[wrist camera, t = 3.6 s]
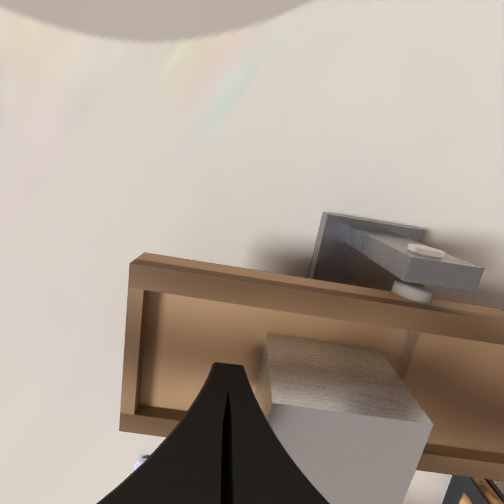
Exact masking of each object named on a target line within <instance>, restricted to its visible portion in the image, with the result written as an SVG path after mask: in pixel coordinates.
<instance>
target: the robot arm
mask: <svg viewBox="0 0 504 504" xmlns="http://www.w3.org/2000/svg"><path fill="white" fill-rule="evenodd" d="M97 504H330V503H329V502H328V501H327V500H326V499H325V498H324V497H323V496H322V495H321V494H320V492H319V491H318V490H317V489H316V488H315V487H314V486H313V485H312V483H311V482H310V481H309V480H308V479H307V477H306V476H305V475H304V474H303V472H302V471H301V470H300V469H299V468H298V466H297V465H296V464H295V463H294V461H293V460H292V458H291V457H290V456H289V454H288V453H287V451H286V450H285V449H284V447H283V446H282V444H281V443H280V441H279V440H278V438H277V436H276V435H275V433H274V432H273V430H272V428H271V426H270V425H269V423H268V421H267V419H266V417H265V416H264V414H263V412H262V410H261V408H260V406H259V404H258V402H257V399H256V397H255V395H254V393H253V391H252V388H251V386H250V383H249V380H248V378H247V375H246V372H245V368H244V367H243V365H237V364H228V363H220V362H215V363H213V364H212V366H211V370H210V372H209V375H208V377H207V379H206V381H205V383H204V385H203V387H202V388H201V390H200V392H199V394H198V395H197V397H196V399H195V400H194V402H193V403H192V405H191V406H190V408H189V409H188V411H187V412H186V413H185V415H184V416H183V418H182V419H181V420H180V422H179V423H178V424H177V426H176V427H175V428H174V429H173V431H172V432H171V433H170V434H169V435H168V437H167V438H166V439H165V440H164V441H163V442H162V443H161V444H160V446H159V447H158V448H157V449H156V450H155V451H154V452H153V453H152V454H151V455H150V456H149V457H148V458H139V459H137V460H136V462H135V465H134V472H133V473H132V474H131V475H130V476H128V477H127V478H126V479H125V480H124V481H123V482H122V483H121V484H120V485H119V486H117V487H116V488H115V489H114V490H113V491H111V492H110V493H109V494H108V495H107V496H105V497H104V498H103V499H102V500H100V501H99V502H98V503H97Z"/></svg>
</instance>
